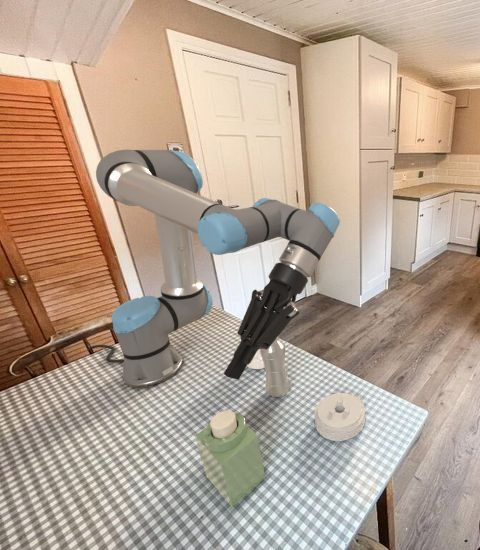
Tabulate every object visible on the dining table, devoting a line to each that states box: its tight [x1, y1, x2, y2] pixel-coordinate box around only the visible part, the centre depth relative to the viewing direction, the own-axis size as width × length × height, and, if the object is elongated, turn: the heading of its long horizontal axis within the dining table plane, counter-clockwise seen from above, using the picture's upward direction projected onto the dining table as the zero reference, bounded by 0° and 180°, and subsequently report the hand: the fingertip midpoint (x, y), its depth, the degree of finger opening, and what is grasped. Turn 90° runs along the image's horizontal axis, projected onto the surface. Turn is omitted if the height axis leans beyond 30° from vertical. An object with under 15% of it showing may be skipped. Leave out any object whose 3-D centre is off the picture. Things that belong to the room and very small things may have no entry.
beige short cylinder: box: [209, 410, 237, 439], centre depth 58 cm, size 4×4×2 cm
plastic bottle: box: [260, 335, 291, 398], centre depth 83 cm, size 6×7×20 cm
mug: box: [246, 349, 265, 370], centre depth 97 cm, size 12×10×9 cm
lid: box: [313, 392, 366, 442], centre depth 76 cm, size 13×13×5 cm
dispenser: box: [194, 412, 266, 508], centre depth 61 cm, size 10×8×14 cm
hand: (231, 376), depth 57 cm, fingers closed
